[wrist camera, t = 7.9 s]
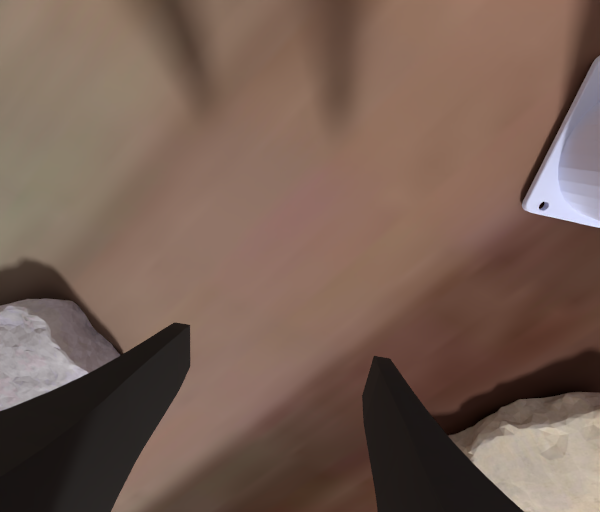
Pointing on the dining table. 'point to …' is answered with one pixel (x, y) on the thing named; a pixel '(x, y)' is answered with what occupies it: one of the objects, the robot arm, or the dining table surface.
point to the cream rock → (541, 452)
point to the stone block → (46, 348)
